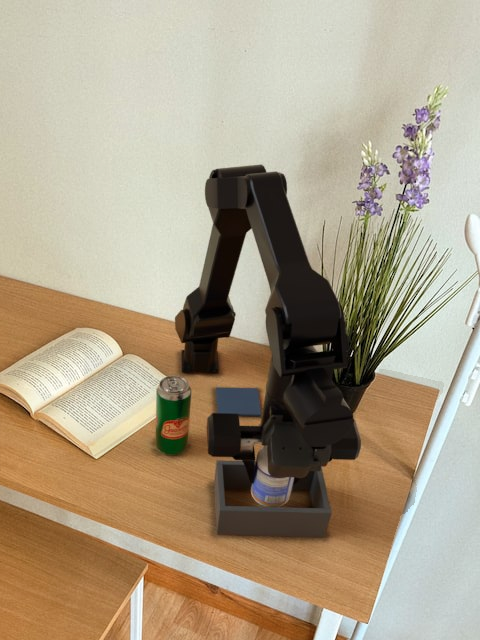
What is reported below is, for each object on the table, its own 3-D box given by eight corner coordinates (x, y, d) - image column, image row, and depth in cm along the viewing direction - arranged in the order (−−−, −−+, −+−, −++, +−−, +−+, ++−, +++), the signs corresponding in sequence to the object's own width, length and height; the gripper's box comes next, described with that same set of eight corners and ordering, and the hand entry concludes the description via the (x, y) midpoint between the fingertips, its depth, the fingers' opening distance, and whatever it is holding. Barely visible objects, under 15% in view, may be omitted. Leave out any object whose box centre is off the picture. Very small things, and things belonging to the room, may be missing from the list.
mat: (215, 389, 118) (216, 387, 117) (257, 390, 117) (257, 388, 117) (217, 416, 113) (218, 413, 113) (261, 416, 113) (261, 414, 112)
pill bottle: (263, 475, 99) (272, 423, 92) (297, 492, 96) (309, 440, 89) (242, 497, 96) (251, 445, 89) (277, 515, 93) (288, 463, 86)
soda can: (161, 460, 106) (162, 398, 97) (151, 439, 109) (152, 377, 101) (192, 453, 107) (196, 391, 98) (181, 432, 110) (185, 371, 102)
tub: (213, 484, 102) (216, 460, 98) (314, 487, 101) (320, 462, 98) (216, 534, 95) (219, 510, 92) (324, 537, 94) (331, 513, 91)
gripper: (215, 433, 78) (205, 525, 89) (384, 437, 77) (353, 529, 88) (211, 373, 86) (202, 464, 97) (364, 376, 85) (338, 467, 96)
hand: (272, 481), depth 94 cm, fingers closed on pill bottle, 5 cm apart
